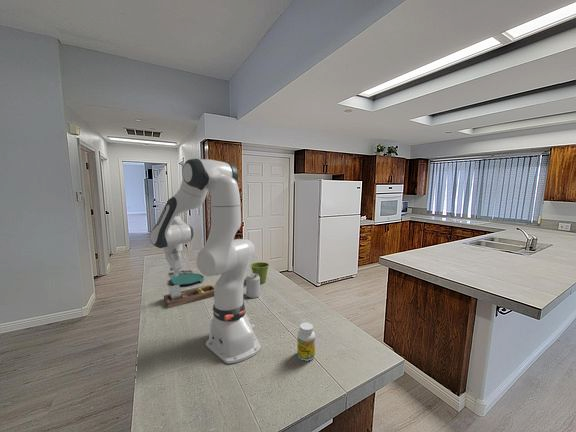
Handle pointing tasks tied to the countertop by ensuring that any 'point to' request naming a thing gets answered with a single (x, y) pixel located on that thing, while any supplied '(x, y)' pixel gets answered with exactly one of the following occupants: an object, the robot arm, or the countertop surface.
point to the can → (253, 285)
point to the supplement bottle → (306, 342)
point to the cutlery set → (186, 278)
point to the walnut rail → (186, 298)
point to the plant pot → (260, 270)
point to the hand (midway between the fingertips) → (173, 273)
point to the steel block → (174, 292)
